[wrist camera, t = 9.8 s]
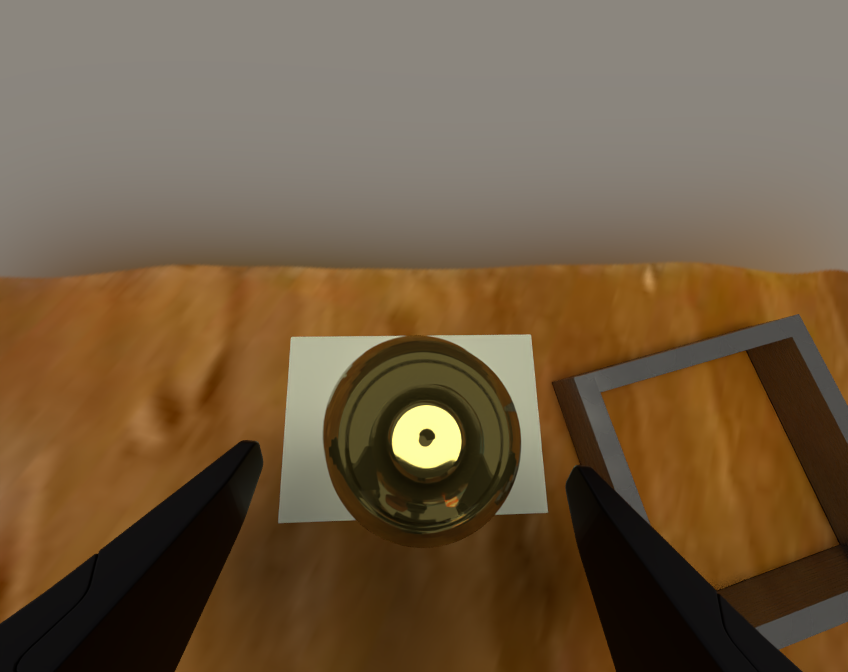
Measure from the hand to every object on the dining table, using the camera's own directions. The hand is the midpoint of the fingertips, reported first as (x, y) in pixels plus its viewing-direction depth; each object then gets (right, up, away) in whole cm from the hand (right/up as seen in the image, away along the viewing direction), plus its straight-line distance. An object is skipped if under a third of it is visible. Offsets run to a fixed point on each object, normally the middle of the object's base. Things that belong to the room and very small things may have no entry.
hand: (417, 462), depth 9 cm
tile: (0, -1, +8) cm, 8 cm away
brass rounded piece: (0, -1, +8) cm, 8 cm away
